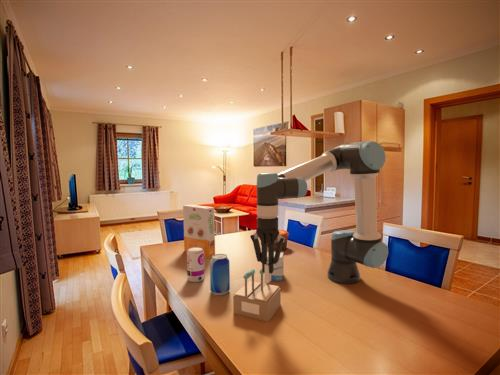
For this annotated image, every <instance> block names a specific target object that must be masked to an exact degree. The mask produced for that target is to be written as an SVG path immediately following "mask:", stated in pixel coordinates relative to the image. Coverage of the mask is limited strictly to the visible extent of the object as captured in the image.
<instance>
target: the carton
mask: <svg viewBox="0 0 500 375" xmlns="http://www.w3.org/2000/svg"><path fill="white" fill-rule="evenodd" d="M266 285H267V284H263V288H264V287H265V286H266ZM260 291H261V284H260V285H259V286H258V287H257V288H256V289H255V290H254V291H253V292H252V293H251V294H250V295H249V296H248V297H247V298H246V297H242V296H237V295H235V293H234V294H233V295H232V296H233V298H232V301H233V302H232V303H233V304H232V305H233V306H232V307H233V309H232V310H233V311H232V312H233V314H235V315H239V316H242V317H246V318H247V317H248V318H251V319H255V320H260V321H263V322H266V323H267V322H268V323H269V322H270V321H271V319H272V318H273V316H274V315H275V314H276V312H277V311H278V310H279V308H280V306H281V305H282V303H281V297H282V296H281V295H282V294H281V288H280V287H279V288H278V289H277V290H276V291H275V293H274V294H273V295H272V296H271V297H270V299H269V300H268V301H267V302H265V301H260V300H256V299H254V297H255V296H256V295H257V294H258V293H259V292H260Z"/></svg>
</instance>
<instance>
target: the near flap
mask: <svg viewBox="0 0 500 375" xmlns="http://www.w3.org/2000/svg"><path fill="white" fill-rule="evenodd" d="M259 274H260V283H261V291H260V292H259V293H258V294H257V295H256V296H255V297H254V299H256V300H260V301H265V302H267V301H268V300H269V299H270V297H271V296H272V295H273V294H274V293H275V291H276V290H277V289H278V288H280V286H279V285H274V284H270V282H269V283H266V284H265V285H266V286H265V287H264V288H263V285H264V275H265V272H263V271H262V268H261V269H260V270H259Z"/></svg>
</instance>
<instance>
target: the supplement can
mask: <svg viewBox="0 0 500 375" xmlns="http://www.w3.org/2000/svg"><path fill="white" fill-rule="evenodd" d="M186 270H187V271H186V273H187V275H186V276H187V277H186V278H187V280H188V281H189V282H190V283H199V282H202V281H203V280H204V279H205V257H204V251H203V249H202V248H200V247H193V248H189V249H188V251H187V252H186Z"/></svg>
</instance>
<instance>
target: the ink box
mask: <svg viewBox="0 0 500 375" xmlns="http://www.w3.org/2000/svg"><path fill="white" fill-rule="evenodd" d="M275 252H276V251H274V256H275ZM284 254H285V253H284V252H282V251H281V253H280V257H279V261H278V262H277V263H276V264H274V269H273V270H274V271H273V273H272V274H271V281H277V282H282V281H283V278H284V274H285V273H284V272H285V271H284V267H285V266H284ZM267 260H268V251H267ZM267 262H268V261H267Z"/></svg>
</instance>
